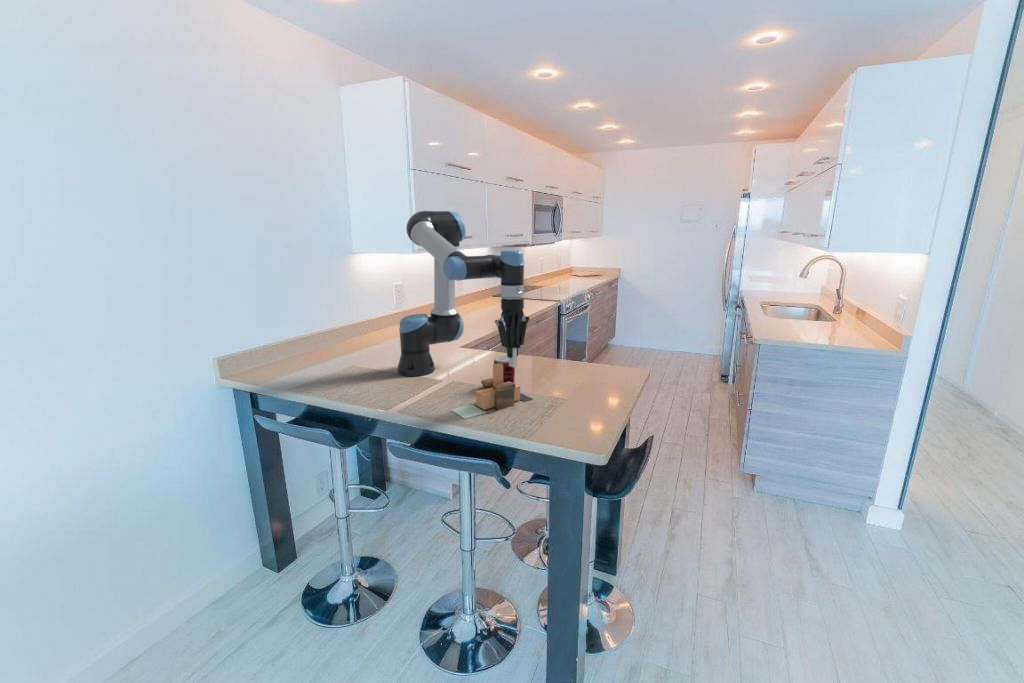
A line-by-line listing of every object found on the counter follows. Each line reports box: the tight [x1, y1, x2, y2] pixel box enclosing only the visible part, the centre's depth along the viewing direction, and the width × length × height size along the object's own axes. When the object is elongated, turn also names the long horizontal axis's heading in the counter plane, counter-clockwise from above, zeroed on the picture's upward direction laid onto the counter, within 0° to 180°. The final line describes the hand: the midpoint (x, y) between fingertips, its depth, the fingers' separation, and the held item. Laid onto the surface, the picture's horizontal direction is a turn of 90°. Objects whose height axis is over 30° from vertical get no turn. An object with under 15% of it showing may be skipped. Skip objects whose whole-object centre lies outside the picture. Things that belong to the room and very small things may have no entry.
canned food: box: [493, 355, 516, 384], centre depth 175 cm, size 8×8×11 cm
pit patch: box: [519, 392, 533, 403], centre depth 165 cm, size 8×4×1 cm, turn 37°
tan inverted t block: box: [475, 363, 521, 411], centre depth 157 cm, size 5×15×14 cm, turn 127°
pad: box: [450, 403, 487, 420], centre depth 152 cm, size 9×8×1 cm
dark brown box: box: [480, 377, 516, 410], centre depth 158 cm, size 10×7×8 cm
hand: (512, 366), depth 159 cm, fingers closed
